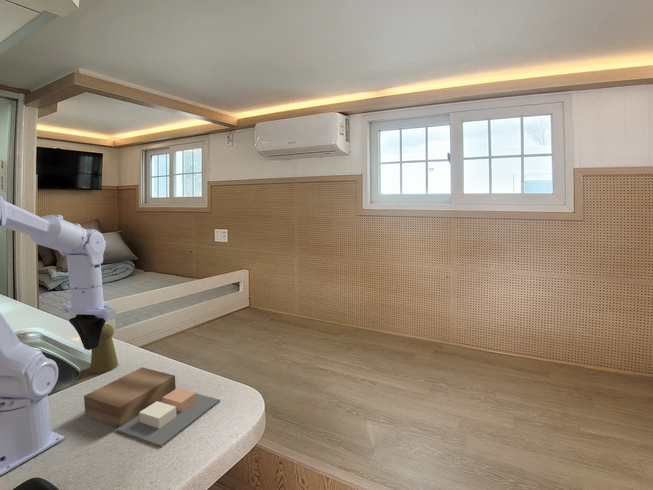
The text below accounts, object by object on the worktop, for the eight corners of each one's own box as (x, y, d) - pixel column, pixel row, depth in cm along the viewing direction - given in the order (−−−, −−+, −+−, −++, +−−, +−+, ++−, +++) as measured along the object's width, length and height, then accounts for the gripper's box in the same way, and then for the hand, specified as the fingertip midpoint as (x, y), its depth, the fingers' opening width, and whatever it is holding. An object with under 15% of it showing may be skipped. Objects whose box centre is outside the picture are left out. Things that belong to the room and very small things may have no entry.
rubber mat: (161, 447, 59) (161, 445, 59) (116, 431, 64) (116, 429, 64) (220, 401, 73) (220, 399, 73) (180, 390, 77) (180, 389, 77)
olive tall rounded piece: (121, 360, 92) (117, 320, 91) (115, 371, 87) (111, 328, 85) (94, 364, 90) (91, 323, 89) (86, 375, 85) (82, 331, 83)
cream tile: (139, 412, 65) (139, 422, 66) (158, 418, 64) (159, 428, 64) (157, 401, 69) (157, 410, 69) (176, 406, 67) (176, 416, 67)
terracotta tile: (162, 397, 70) (162, 406, 71) (181, 402, 68) (181, 412, 69) (177, 387, 74) (178, 396, 74) (196, 392, 72) (196, 401, 72)
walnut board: (120, 427, 65) (119, 407, 64) (85, 415, 69) (83, 396, 68) (175, 392, 77) (174, 375, 76) (143, 383, 80) (142, 367, 80)
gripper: (127, 284, 74) (132, 346, 76) (83, 279, 80) (88, 336, 82) (94, 292, 68) (100, 359, 70) (48, 286, 74) (55, 347, 75)
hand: (91, 347), depth 75 cm, fingers closed
